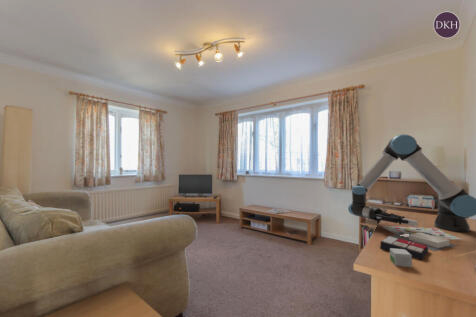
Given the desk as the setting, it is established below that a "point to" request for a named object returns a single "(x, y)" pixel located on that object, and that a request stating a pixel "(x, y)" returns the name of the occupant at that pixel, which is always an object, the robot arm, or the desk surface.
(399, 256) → the small box
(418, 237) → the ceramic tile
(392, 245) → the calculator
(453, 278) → the desk surface
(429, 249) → the tile mat
